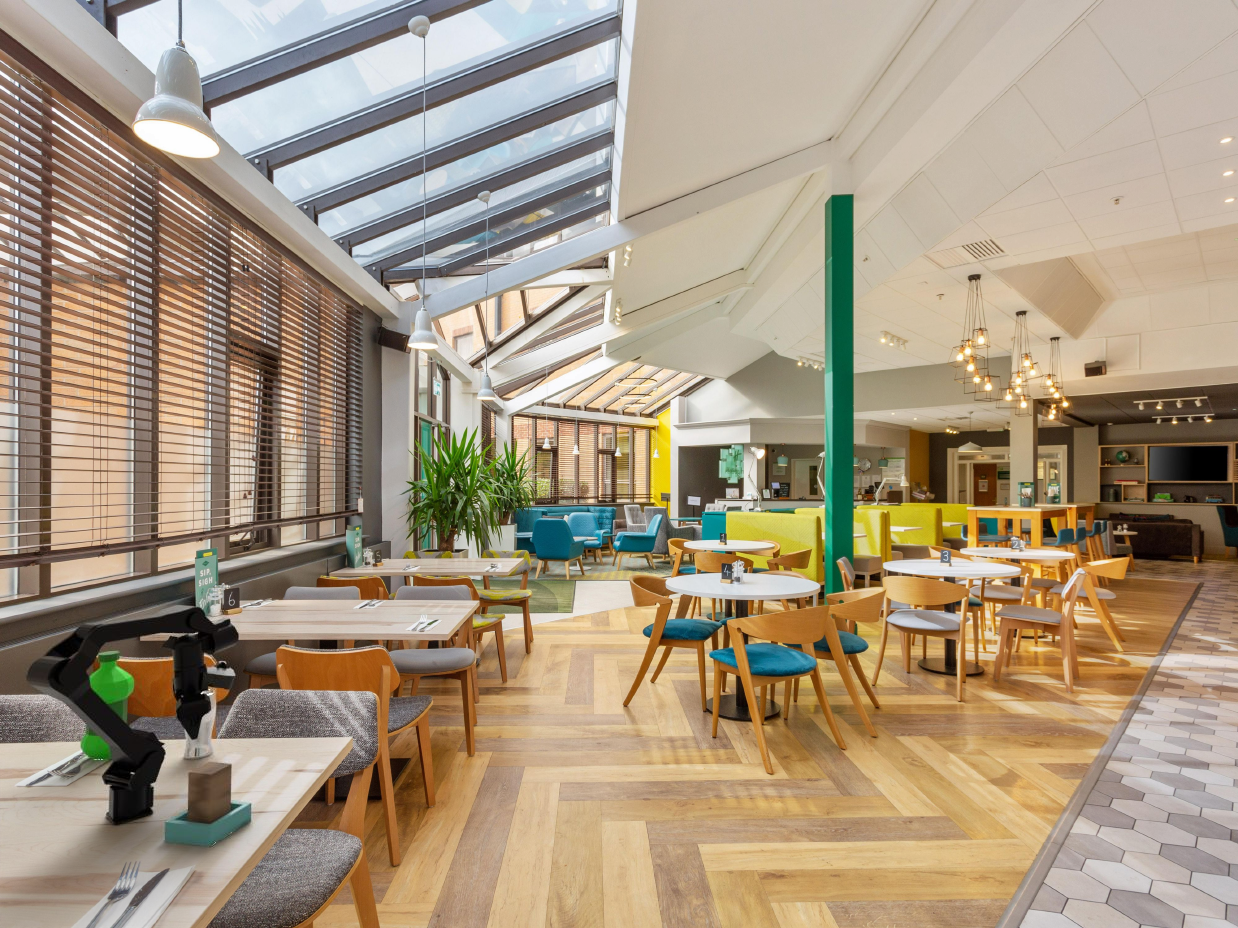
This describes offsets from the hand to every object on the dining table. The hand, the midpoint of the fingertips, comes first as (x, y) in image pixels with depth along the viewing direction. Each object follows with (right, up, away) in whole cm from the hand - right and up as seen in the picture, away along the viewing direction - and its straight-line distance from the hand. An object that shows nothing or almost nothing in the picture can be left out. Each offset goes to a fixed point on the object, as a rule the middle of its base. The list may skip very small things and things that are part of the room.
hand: (193, 730), depth 149 cm
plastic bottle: (-31, -13, +16) cm, 37 cm away
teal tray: (+16, -11, -20) cm, 28 cm away
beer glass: (-9, -13, +17) cm, 23 cm away
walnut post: (+16, -10, -20) cm, 28 cm away
